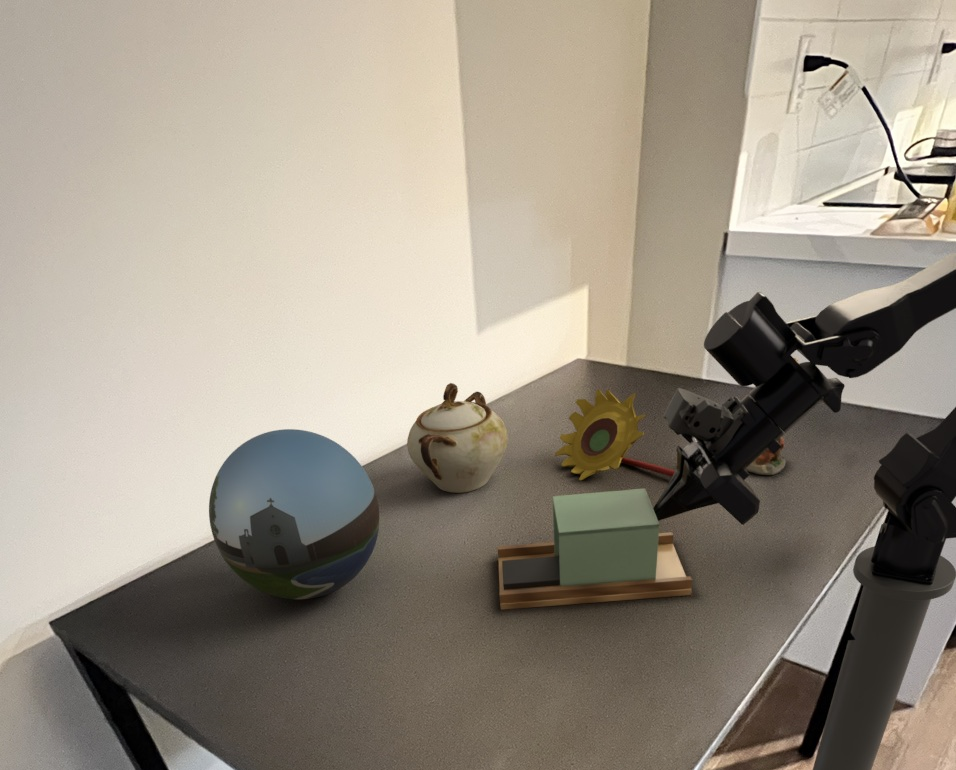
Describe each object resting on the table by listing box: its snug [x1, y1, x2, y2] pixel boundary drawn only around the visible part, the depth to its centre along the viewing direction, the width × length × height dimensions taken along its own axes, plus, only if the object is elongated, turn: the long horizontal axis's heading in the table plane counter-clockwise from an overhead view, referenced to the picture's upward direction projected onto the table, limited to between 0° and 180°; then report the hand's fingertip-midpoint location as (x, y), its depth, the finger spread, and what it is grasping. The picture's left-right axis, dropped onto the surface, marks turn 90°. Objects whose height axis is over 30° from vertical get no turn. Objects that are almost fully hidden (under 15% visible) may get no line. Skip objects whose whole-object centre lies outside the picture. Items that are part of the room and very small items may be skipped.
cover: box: [552, 487, 660, 587], centre depth 87 cm, size 11×9×8 cm
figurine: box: [746, 357, 800, 476], centre depth 104 cm, size 9×8×15 cm
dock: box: [497, 531, 693, 611], centre depth 90 cm, size 22×12×2 cm, turn 90°
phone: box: [502, 556, 560, 590], centre depth 90 cm, size 10×6×1 cm, turn 90°
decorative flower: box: [554, 388, 676, 481], centre depth 108 cm, size 13×8×30 cm
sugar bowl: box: [406, 382, 509, 494], centre depth 110 cm, size 20×15×15 cm
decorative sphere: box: [208, 428, 380, 600], centre depth 88 cm, size 20×20×20 cm
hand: (653, 517), depth 86 cm, fingers closed, pressing on cover
